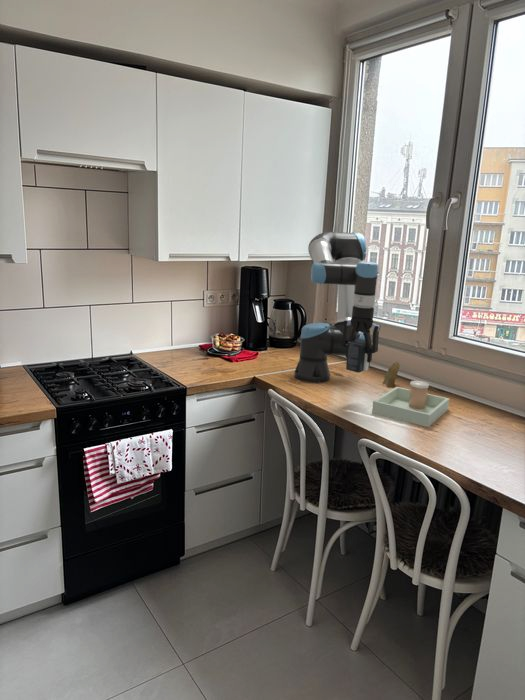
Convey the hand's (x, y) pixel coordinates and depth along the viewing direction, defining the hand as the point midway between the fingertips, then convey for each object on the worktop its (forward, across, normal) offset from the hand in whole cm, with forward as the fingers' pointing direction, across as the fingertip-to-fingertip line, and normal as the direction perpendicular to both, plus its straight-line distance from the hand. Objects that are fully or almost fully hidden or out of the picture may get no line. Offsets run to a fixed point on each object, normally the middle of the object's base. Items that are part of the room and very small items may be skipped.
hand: (357, 368), depth 195 cm
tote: (+13, +20, +4) cm, 25 cm away
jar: (+13, +20, +10) cm, 26 cm away
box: (+1, 0, 0) cm, 1 cm away
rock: (+14, +1, +30) cm, 33 cm away
